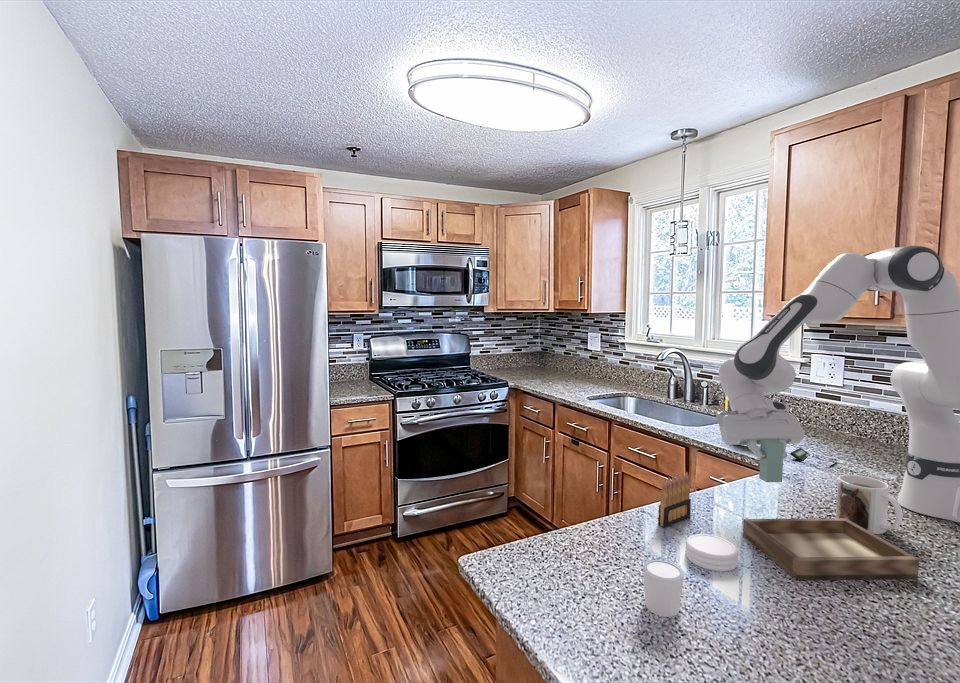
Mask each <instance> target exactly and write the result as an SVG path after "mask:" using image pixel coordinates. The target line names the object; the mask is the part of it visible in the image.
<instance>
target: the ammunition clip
mask: <svg viewBox="0 0 960 683" xmlns="http://www.w3.org/2000/svg"><path fill="white" fill-rule="evenodd" d="M691 503H692V502H691V498H690V478H689V472H688V471H686V472H685V474H684V473H683V472H682V473H681V474H680V475H679V474H676V477H675V475H672V477H670V476H668V477H667V480H666V478H663V480H662V484H661V493H660V504H659V505H658V518H657V520H658V521H657V525H658V527H661V528H663V529H665V528H668V527H671V526H673V525H675V524H678V523H681V522H683V521H685V520H688V519H690V518H691V515H692V514H691V512H692V511H691V510H692V509H691V507H692V506H691V505H692V504H691Z"/></svg>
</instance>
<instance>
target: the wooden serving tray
mask: <svg viewBox="0 0 960 683" xmlns="http://www.w3.org/2000/svg"><path fill="white" fill-rule="evenodd" d="M742 522H743V523H742V524H743V525H742V537H743V538H745V539H746V540H747V539H748V540H747V541H749V543H751V544H752V545H753V544H754V545H753V546H754V547H756V548H757V549H758V550H759V549H760V550H759V551H761V552H762V553H763V554H764V555H765V556H767V557H768V558H769V559H770V560H771V561H772V562H773V563H775V564H776V565H777V566H778V567H780V568H781V569H782V570H783V571H785V573H787V574H788V575H789V576H790V577H791V578H793V579H794V580H795V581H836V580H838V581H840V580H841V581H848V580H850V581H851V580H853V581H855V580H858V581H859V580H860V581H861V580H918V579H919V567H920V566H919V565H920V558H917V557H916V556H914V555H912V554H910V553H909V552H907V551H905V550H904V549H902V548H900V547H898V546H896V545H894V544H893V543H891V542H889V541H887V540H885V539H883V538H881V537H880V536H879V535H878V534H873V533H871V532H869V531H868V530H866V529H864V528H862V527H860V526H859V525H857V524H855V523H853V522H852V521H850V520H848V519H846V518H836V517H834V518H833V517H832V518H830V517H829V518H827V517H826V518H825V517H824V518H743V519H742Z"/></svg>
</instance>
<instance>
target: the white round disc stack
mask: <svg viewBox="0 0 960 683" xmlns="http://www.w3.org/2000/svg"><path fill="white" fill-rule="evenodd" d="M684 552H685V553H684V554H685V556H686V558H687V559H688V560H689V561H690V563H692V564H694V565H696V566H698V567H700V568H703V569H706V570H708V571H714V572H729V571H732V570H734V569H736V568H737V566H738V554H739V551H738V549H737V546H736V545H735V544H733V543H732V542H730V541H729V540H727V539H725V538H723V537H720V536H717V535H712V534H706V533H705V534H704V533H698V534H697V533H696V534H692V535H689V536H688V537H687V538H686V539H685V551H684Z"/></svg>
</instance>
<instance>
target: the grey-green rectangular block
mask: <svg viewBox="0 0 960 683" xmlns="http://www.w3.org/2000/svg"><path fill="white" fill-rule="evenodd" d="M759 446H760V448H759V449H760V450H764V452H765V454H766V458H765V459H759V472H758V473H759V474H758V475H759V477H758V478H759V480H762V481H764V482H765V483H783V474H784V473H783V470H784V469H783V466H784V459H783V448H784V443H783V442H780V441H778V440H761V443H760V444H759Z"/></svg>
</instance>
